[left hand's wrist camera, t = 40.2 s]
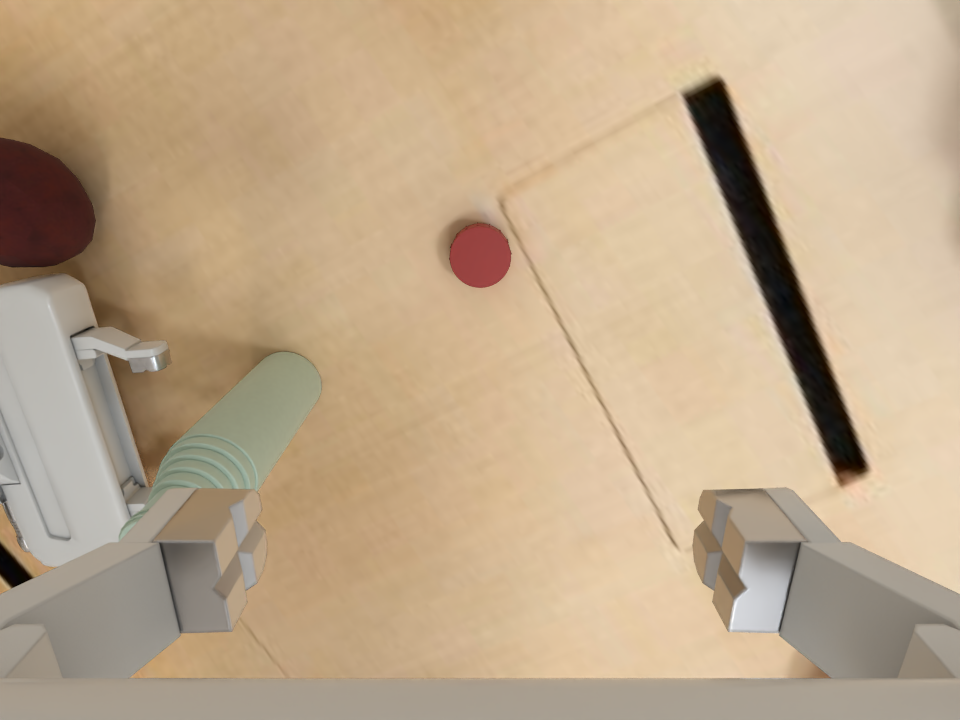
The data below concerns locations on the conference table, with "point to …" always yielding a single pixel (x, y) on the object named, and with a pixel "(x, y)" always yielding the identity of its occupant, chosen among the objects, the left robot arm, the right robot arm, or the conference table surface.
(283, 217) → the conference table surface
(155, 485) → the bottle
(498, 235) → the cap
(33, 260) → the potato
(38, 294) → the right robot arm
